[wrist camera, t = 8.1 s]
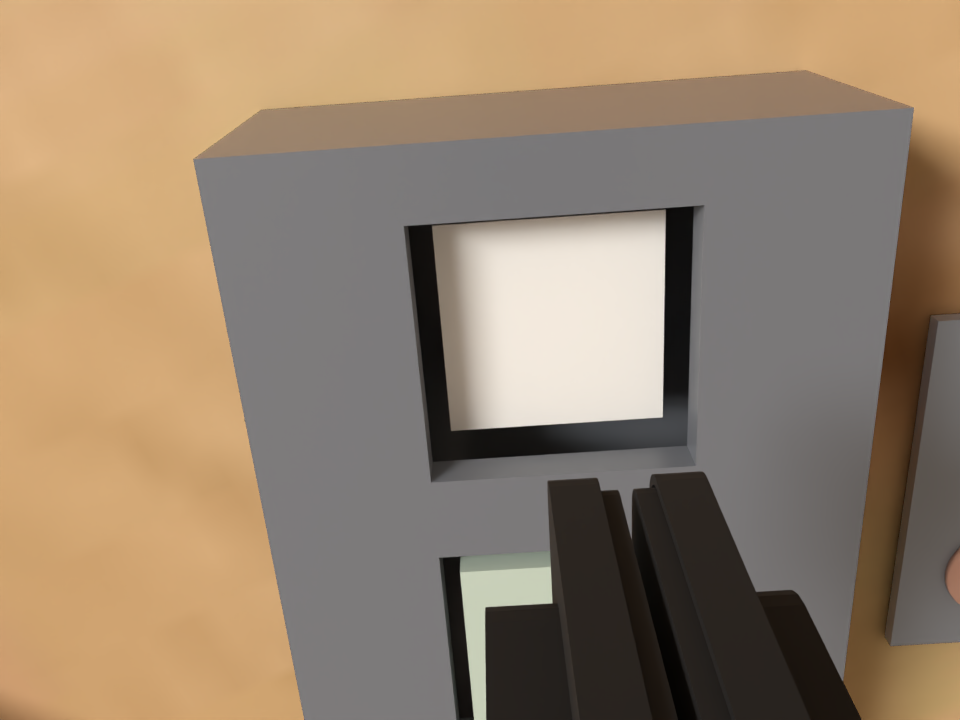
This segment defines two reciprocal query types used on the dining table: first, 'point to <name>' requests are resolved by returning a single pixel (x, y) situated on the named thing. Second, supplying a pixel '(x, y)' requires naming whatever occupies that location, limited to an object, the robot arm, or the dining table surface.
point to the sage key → (497, 602)
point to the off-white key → (552, 318)
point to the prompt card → (931, 503)
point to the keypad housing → (557, 447)
